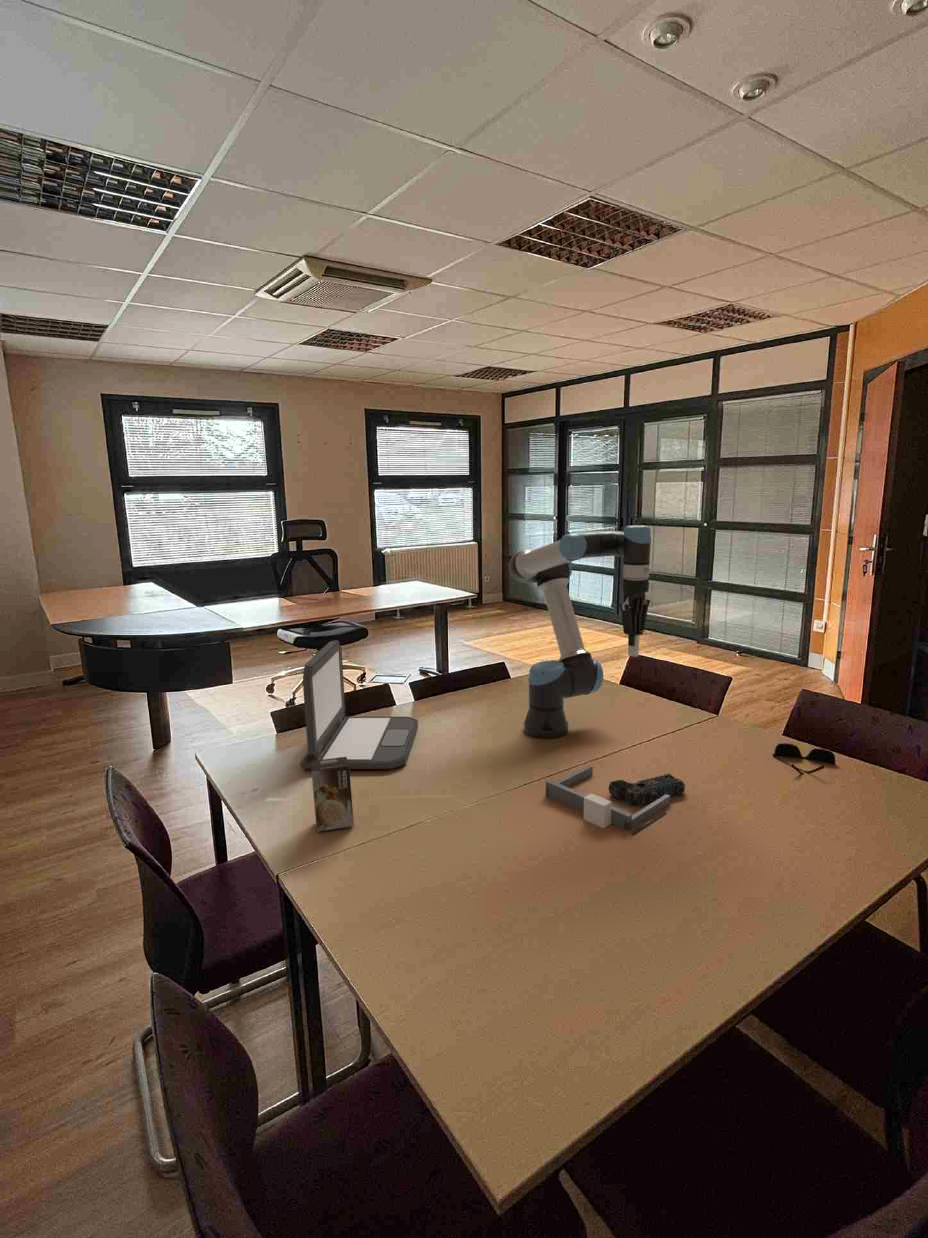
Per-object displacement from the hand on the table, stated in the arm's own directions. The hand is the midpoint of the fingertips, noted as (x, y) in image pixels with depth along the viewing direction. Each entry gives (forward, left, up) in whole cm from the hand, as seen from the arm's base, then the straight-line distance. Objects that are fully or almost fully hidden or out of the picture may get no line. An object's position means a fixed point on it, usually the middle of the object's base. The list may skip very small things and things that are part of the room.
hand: (633, 655), depth 190 cm
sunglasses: (+43, +23, -31) cm, 58 cm away
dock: (+14, -33, -30) cm, 47 cm away
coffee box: (-26, -90, -31) cm, 99 cm away
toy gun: (+15, -21, -28) cm, 38 cm away
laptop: (-62, -57, -31) cm, 90 cm away
